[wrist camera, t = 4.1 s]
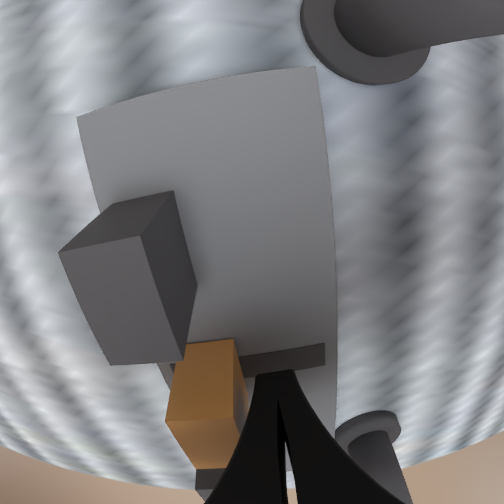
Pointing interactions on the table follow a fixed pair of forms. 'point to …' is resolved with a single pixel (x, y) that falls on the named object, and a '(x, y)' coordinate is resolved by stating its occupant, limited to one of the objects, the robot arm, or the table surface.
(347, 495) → the robot arm
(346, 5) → the grey disc-based knob
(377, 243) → the table surface
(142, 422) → the table surface
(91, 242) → the box
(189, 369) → the switch
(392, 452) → the post
